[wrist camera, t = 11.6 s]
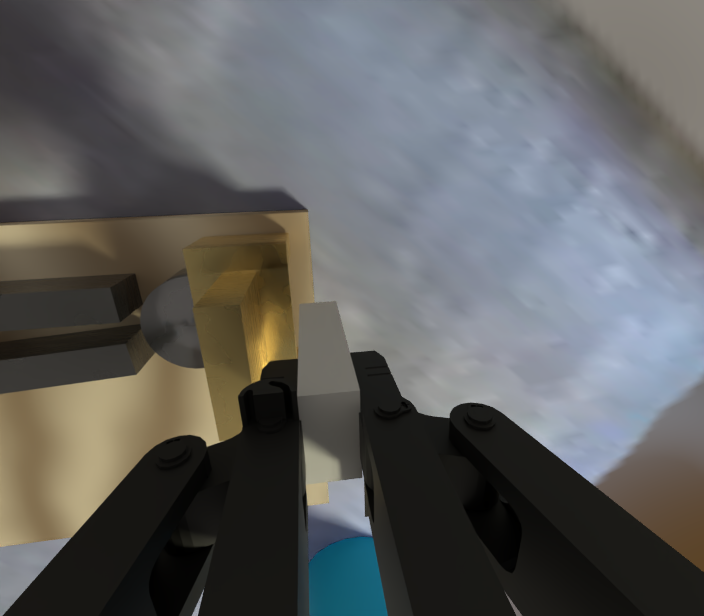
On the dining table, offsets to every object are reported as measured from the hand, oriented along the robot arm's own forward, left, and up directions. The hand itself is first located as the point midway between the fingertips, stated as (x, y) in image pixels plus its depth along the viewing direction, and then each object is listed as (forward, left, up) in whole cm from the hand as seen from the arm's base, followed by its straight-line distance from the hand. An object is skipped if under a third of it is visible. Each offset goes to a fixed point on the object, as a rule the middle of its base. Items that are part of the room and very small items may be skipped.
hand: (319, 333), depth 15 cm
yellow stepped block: (-3, 0, -4) cm, 5 cm away
